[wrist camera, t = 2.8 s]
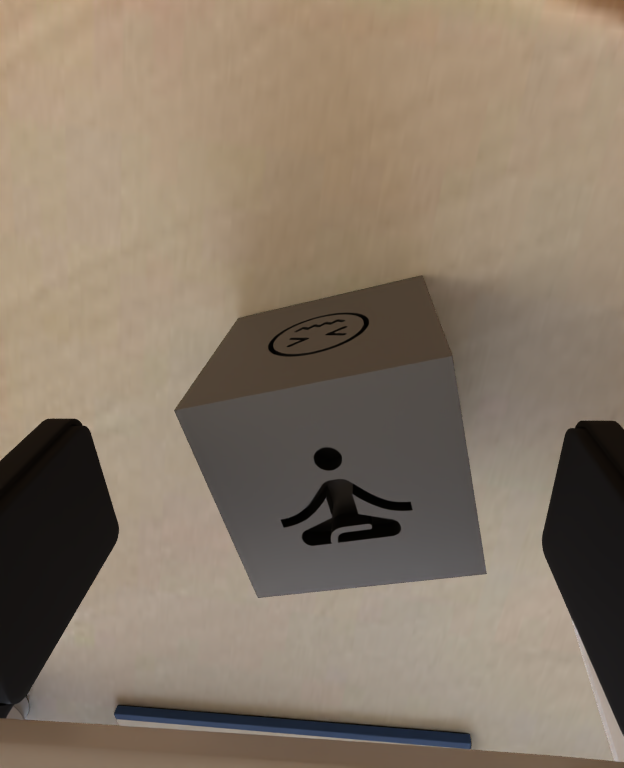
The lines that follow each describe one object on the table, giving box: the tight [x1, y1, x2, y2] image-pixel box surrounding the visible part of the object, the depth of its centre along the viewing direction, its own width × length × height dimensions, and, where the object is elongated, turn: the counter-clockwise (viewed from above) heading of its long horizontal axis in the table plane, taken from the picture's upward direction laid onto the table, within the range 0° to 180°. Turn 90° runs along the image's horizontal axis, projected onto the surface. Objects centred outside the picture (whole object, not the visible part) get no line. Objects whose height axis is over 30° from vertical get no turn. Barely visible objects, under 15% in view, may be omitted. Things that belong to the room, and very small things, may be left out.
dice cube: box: [174, 276, 487, 598], centre depth 12 cm, size 5×5×5 cm
